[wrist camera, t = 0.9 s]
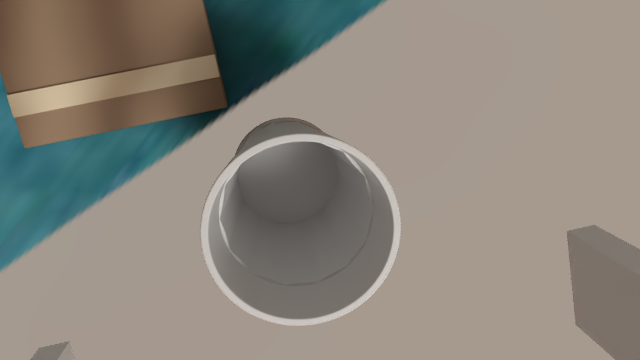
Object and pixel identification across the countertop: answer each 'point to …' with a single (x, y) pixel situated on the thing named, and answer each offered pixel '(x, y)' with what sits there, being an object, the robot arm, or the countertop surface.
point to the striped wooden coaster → (105, 65)
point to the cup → (299, 225)
